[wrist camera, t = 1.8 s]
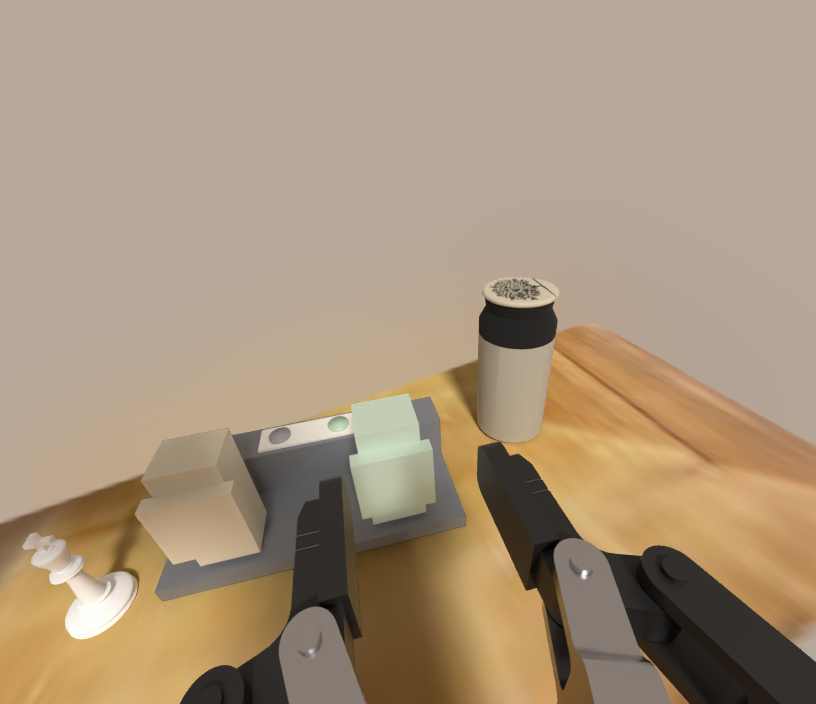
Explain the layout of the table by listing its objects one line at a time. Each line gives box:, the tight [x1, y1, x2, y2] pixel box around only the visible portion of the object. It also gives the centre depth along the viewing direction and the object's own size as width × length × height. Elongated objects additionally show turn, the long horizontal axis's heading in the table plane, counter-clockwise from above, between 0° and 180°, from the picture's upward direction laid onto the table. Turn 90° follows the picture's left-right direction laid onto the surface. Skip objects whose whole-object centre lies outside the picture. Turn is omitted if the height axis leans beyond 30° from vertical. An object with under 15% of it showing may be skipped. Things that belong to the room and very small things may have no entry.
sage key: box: [349, 393, 436, 525], centre depth 31 cm, size 6×5×11 cm
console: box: [155, 397, 466, 601], centre depth 35 cm, size 27×12×7 cm, turn 102°
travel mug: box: [477, 277, 559, 443], centre depth 41 cm, size 8×8×18 cm
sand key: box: [134, 428, 267, 566], centre depth 29 cm, size 6×5×11 cm
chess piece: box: [22, 532, 138, 639], centre depth 28 cm, size 5×5×10 cm
